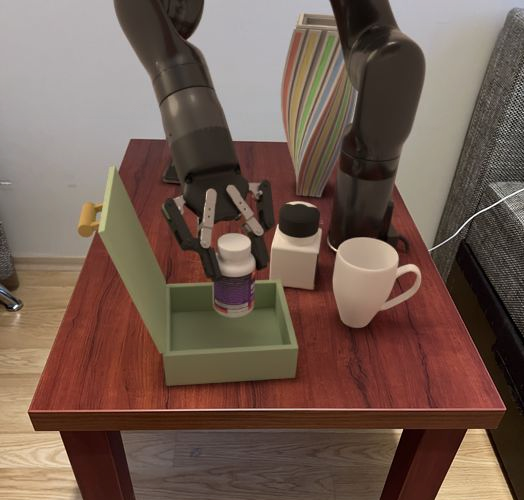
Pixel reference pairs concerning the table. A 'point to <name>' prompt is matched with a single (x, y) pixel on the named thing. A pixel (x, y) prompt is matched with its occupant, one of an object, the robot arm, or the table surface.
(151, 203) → the table surface
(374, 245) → the mug
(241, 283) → the pill bottle
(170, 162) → the phone
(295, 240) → the medicine bottle
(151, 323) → the green box lid
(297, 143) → the vase
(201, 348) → the green open box
